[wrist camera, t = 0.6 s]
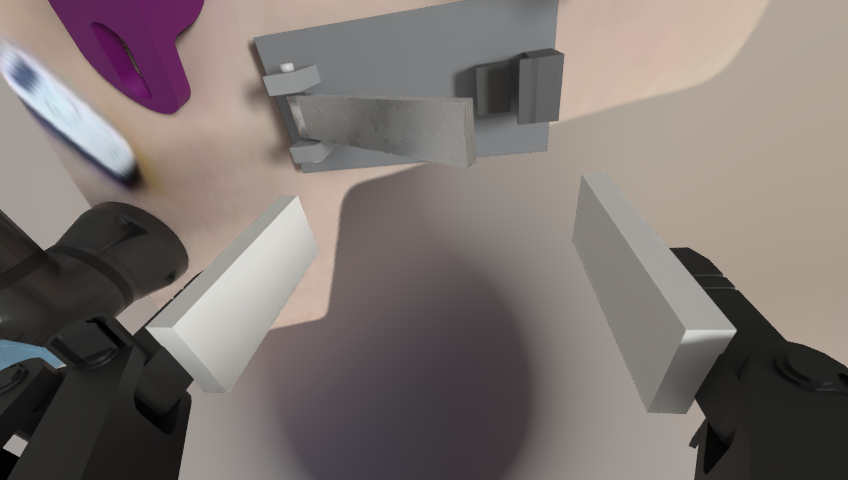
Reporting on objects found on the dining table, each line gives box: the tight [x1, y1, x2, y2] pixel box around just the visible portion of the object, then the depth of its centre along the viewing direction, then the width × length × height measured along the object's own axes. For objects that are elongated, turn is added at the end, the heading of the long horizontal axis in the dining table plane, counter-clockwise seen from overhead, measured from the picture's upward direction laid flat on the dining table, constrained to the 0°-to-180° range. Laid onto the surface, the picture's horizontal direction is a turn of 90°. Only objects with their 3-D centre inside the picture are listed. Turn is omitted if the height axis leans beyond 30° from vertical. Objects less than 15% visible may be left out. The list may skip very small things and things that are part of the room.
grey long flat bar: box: [286, 92, 476, 168], centre depth 26 cm, size 21×4×2 cm
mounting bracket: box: [48, 0, 204, 114], centre depth 31 cm, size 9×8×18 cm
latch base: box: [253, 0, 564, 173], centre depth 32 cm, size 28×14×7 cm, turn 98°
